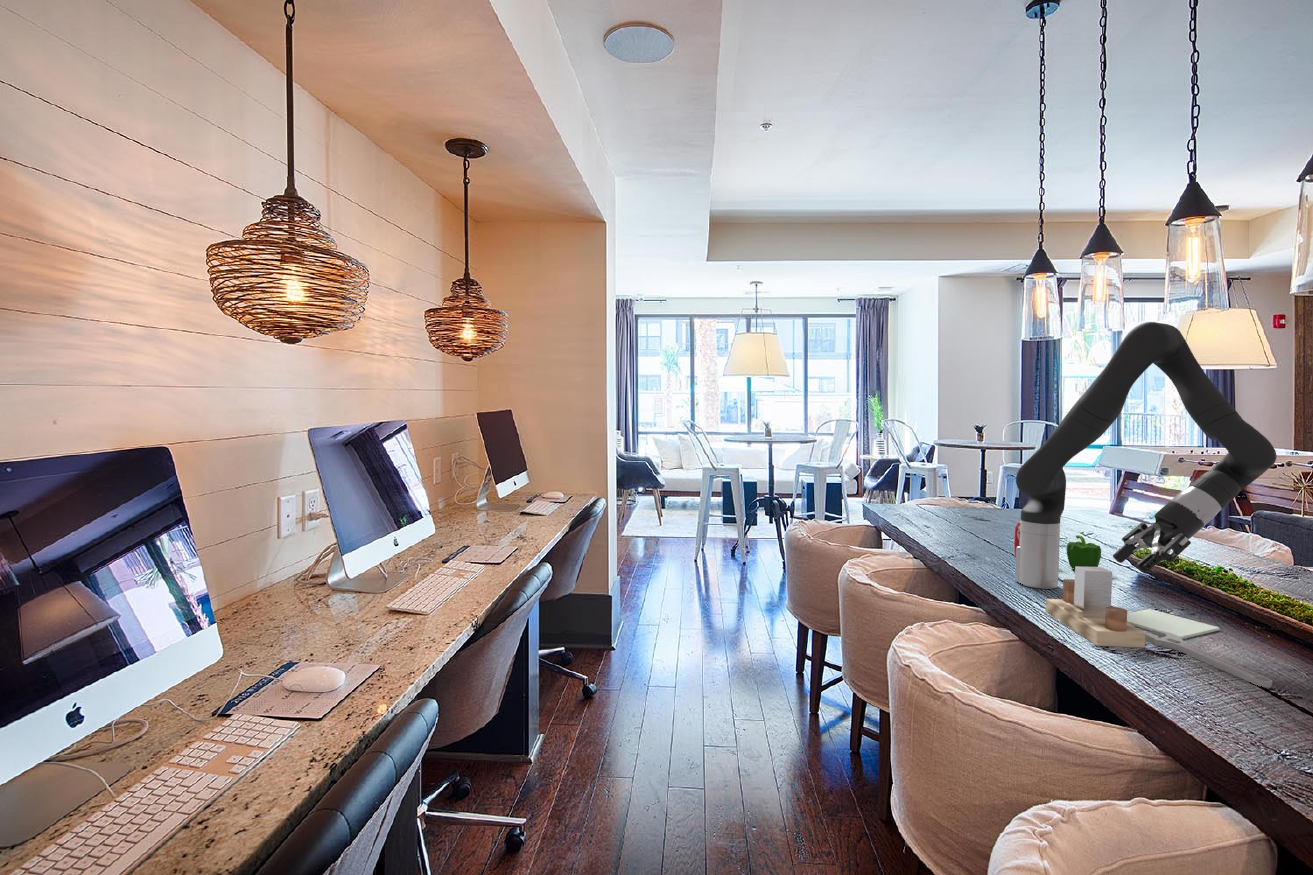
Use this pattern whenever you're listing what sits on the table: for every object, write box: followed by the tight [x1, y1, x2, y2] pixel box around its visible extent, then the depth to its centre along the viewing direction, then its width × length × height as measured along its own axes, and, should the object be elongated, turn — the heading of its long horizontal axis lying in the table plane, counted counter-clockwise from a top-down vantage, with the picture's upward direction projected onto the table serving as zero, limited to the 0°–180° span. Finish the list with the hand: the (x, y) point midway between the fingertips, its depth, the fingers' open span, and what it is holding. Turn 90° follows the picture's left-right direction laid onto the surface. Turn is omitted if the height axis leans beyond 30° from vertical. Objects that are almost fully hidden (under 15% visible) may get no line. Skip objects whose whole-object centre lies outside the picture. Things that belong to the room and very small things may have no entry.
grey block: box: [1074, 566, 1113, 618], centre depth 144 cm, size 4×6×10 cm
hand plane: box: [1045, 578, 1146, 648], centre depth 145 cm, size 22×9×8 cm, turn 174°
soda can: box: [1013, 519, 1021, 559], centre depth 206 cm, size 7×7×12 cm
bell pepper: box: [1066, 534, 1102, 571], centre depth 194 cm, size 8×8×10 cm
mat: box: [1127, 608, 1221, 640], centre depth 147 cm, size 14×14×1 cm
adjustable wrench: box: [1145, 630, 1273, 688], centre depth 128 cm, size 25×6×2 cm, turn 0°
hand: (1127, 564), depth 143 cm, fingers open, 8 cm apart
